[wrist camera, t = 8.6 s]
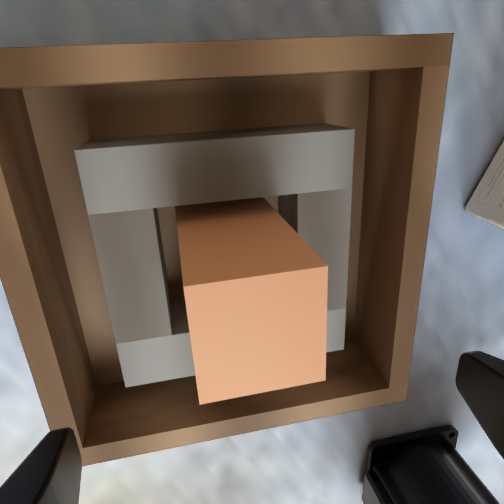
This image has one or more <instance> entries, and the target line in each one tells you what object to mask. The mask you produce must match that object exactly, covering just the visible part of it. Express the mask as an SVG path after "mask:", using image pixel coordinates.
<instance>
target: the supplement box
mask: <svg viewBox="0 0 504 504" xmlns="http://www.w3.org/2000/svg"><path fill="white" fill-rule="evenodd" d="M465 211H466V212H467V213H469V214H471V215H473V216H475V217H477V218H479V219H481V220H483V221H486V222H488V223H490V224H492V225H494V226H496V227H499V228H501V229H503V230H504V141H503V142H502V144H501V146H500V148H499V149H498V151H497V153H496V155H495V156H494V158H493V160H492V162H491V163H490V165H489V167H488V169H487V170H486V172H485V174H484V176H483V177H482V179H481V181H480V183H479V184H478V186H477V188H476V190H475V191H474V193H473V195H472V197H471V198H470V200H469V202H468V204H467V205H466V207H465Z"/></svg>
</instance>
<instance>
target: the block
mask: <svg viewBox="0 0 504 504" xmlns="http://www.w3.org/2000/svg"><path fill="white" fill-rule="evenodd" d="M175 212H176V222H177V231H178V241H179V251H180V260H181V270H182V279H183V288H184V296H185V303H186V310H187V317H188V325H189V332H190V339H191V347H192V354H193V361H194V368H195V376H196V383H197V390H198V397H199V405H201V404H206V403H211V402H216V401H222V400H227V399H232V398H237V397H242V396H248V395H253V394H258V393H263V392H268V391H273V390H279V389H284V388H289V387H294V386H299V385H305V384H310V383H315V382H320V381H325V380H326V338H327V290H328V266H327V265H326V263H325V262H324V261H323V260H322V259H321V258H320V257H319V256H318V255H317V254H316V253H315V252H314V251H313V250H312V248H311V247H310V246H309V245H308V244H307V243H306V242H305V241H304V240H303V239H302V238H301V237H300V236H299V235H298V234H297V232H296V231H295V230H294V229H293V228H292V227H291V226H290V225H289V224H288V223H287V222H286V221H285V220H284V219H283V218H282V216H281V215H280V214H279V213H278V212H277V211H276V210H275V209H274V208H273V207H272V206H271V205H270V204H269V203H268V201H267V200H266V199H265V198H264V197H259V198H250V199H240V200H230V201H220V202H210V203H200V204H191V205H181V206H175Z"/></svg>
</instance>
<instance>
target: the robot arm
mask: <svg viewBox="0 0 504 504" xmlns="http://www.w3.org/2000/svg"><path fill="white" fill-rule="evenodd" d="M456 386H457V388H458V390H459V392H460V394H461V395H462V397H463V398H464V400H465V402H466V403H467V405H468V406H469V408H470V409H471V411H472V413H473V414H474V416H475V417H476V419H477V420H478V422H479V424H480V425H481V427H482V428H483V430H484V431H485V433H486V435H487V436H488V438H489V439H490V441H491V442H492V444H493V445H494V447H495V448H496V449H497V451H498V452H499V454H500V455H501V456H502V458H503V459H504V360H502V359H499V358H497V357H494V356H491V355H489V354H486V353H484V352H481V351H472V352H467V353H463V354H462V355H461V356H460V359H459V364H458V369H457V374H456ZM457 437H458V431H457V430H456V428H455V427H454V426H452V425H448V426H443V427H439V428H434V429H430V430H425V431H421V432H416V433H412V434H407V435H402V436H398V437H393V438H389V439H384V440H380V441H375V442H373V443H372V444H370V446H369V449H368V460H367V471H366V473H365V476H364V488H363V500H364V504H500V503H499V502H498V501H497V500H496V498H495V497H494V496H493V495H492V493H491V492H490V491H489V490H488V489H487V487H486V486H485V485H484V484H483V482H482V481H481V480H480V479H479V478H478V476H477V475H476V474H475V473H474V471H473V470H472V469H471V468H470V466H469V465H468V464H467V463H466V462H465V460H464V459H463V458H462V457H461V455H460V454H459V453H458V452H457V450H456V449H455V447H456V442H457ZM81 470H82V458H81V453H80V450H79V447H78V443H77V440H76V436H75V433H74V431H73V429H72V428H70V427H66V428H61V429H56V430H52V431H50V432H49V433H48V434H47V435H46V436H45V437H44V438H43V439H42V440H41V441H40V443H39V444H38V445H37V446H36V447H35V448H34V449H33V451H32V452H31V453H30V454H29V455H28V456H27V457H26V459H25V460H24V461H23V462H22V463H21V464H20V465H19V466H18V468H17V469H16V470H15V471H14V472H13V473H12V474H11V476H10V477H9V478H8V479H7V480H6V481H5V482H4V484H3V485H2V486H1V487H0V504H78V502H79V491H80V481H81Z"/></svg>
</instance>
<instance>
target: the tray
mask: <svg viewBox="0 0 504 504" xmlns="http://www.w3.org/2000/svg"><path fill="white" fill-rule="evenodd" d="M453 36H454V33H441V34H411V35H380V36H350V37H319V38H289V39H258V40H228V41H197V42H167V43H136V44H106V45H75V46H45V47H14V48H0V279H1V282H2V285H3V288H4V291H5V294H6V297H7V300H8V303H9V306H10V309H11V312H12V315H13V318H14V322H15V325H16V328H17V331H18V334H19V337H20V340H21V343H22V346H23V349H24V352H25V355H26V358H27V361H28V364H29V367H30V371H31V374H32V377H33V380H34V383H35V386H36V389H37V392H38V395H39V398H40V401H41V404H42V407H43V410H44V413H45V416H46V420H47V423H48V426H49V429H50V431H52V430H56V429H61V428H66V427H70V428H72V429H73V431H74V433H75V436H76V440H77V443H78V447H79V450H80V453H81V458H82V466H86V465H91V464H96V463H101V462H106V461H111V460H116V459H121V458H126V457H130V456H135V455H140V454H145V453H150V452H155V451H160V450H165V449H170V448H175V447H180V446H185V445H189V444H194V443H199V442H204V441H209V440H214V439H219V438H224V437H229V436H234V435H239V434H244V433H248V432H253V431H258V430H263V429H268V428H273V427H278V426H283V425H288V424H293V423H298V422H303V421H308V420H312V419H317V418H322V417H327V416H332V415H337V414H342V413H347V412H352V411H357V410H362V409H367V408H371V407H376V406H381V405H386V404H391V403H396V402H401V401H406V397H407V389H408V382H409V374H410V366H411V359H412V351H413V343H414V336H415V328H416V320H417V313H418V305H419V297H420V290H421V282H422V274H423V267H424V259H425V251H426V244H427V236H428V228H429V221H430V213H431V205H432V198H433V190H434V182H435V175H436V167H437V159H438V152H439V144H440V136H441V128H442V121H443V113H444V105H445V98H446V90H447V82H448V75H449V67H450V59H451V52H452V44H453ZM259 197H264V198H265V199H266V200H267V201H268V203H269V204H270V205H271V206H272V207H273V208H274V209H275V210H276V211H277V212H278V213H279V214H280V215H281V216H282V218H283V219H284V220H285V221H286V222H287V223H288V224H289V225H290V226H291V227H292V228H293V229H294V230H295V231H296V232H297V234H298V235H299V236H300V237H301V238H302V239H303V240H304V241H305V242H306V243H307V244H308V245H309V246H310V247H311V248H312V250H313V251H314V252H315V253H316V254H317V255H318V256H319V257H320V258H321V259H322V260H323V261H324V262H325V263H326V265H327V266H328V290H327V338H326V380H325V381H320V382H315V383H310V384H305V385H299V386H294V387H289V388H284V389H279V390H273V391H268V392H263V393H258V394H253V395H248V396H242V397H237V398H232V399H227V400H222V401H216V402H211V403H206V404H201V405H199V397H198V390H197V383H196V376H195V368H194V361H193V354H192V347H191V339H190V332H189V325H188V317H187V310H186V303H185V296H184V288H183V279H182V270H181V260H180V251H179V241H178V231H177V222H176V212H175V206H181V205H191V204H200V203H210V202H220V201H230V200H240V199H250V198H259Z"/></svg>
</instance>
